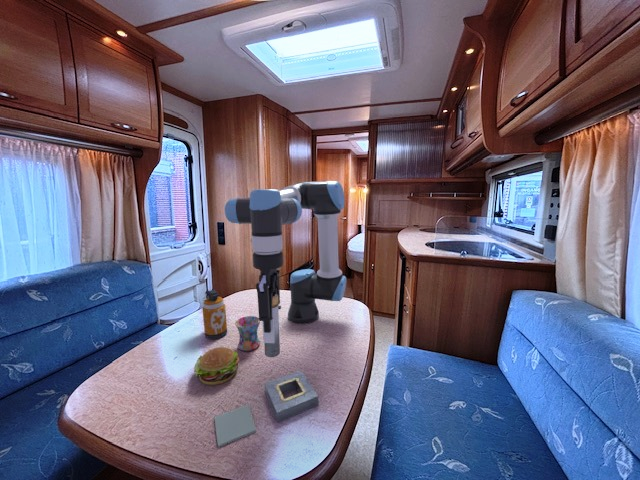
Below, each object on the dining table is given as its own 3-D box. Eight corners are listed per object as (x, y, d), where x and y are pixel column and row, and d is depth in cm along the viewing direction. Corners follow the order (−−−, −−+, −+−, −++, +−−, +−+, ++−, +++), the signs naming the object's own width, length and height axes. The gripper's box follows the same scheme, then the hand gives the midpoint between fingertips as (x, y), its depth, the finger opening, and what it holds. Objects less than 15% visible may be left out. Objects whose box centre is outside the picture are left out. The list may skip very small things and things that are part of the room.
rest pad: (248, 406, 72) (248, 404, 72) (256, 431, 64) (256, 429, 64) (214, 418, 68) (214, 417, 68) (218, 447, 60) (217, 445, 60)
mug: (251, 355, 96) (249, 329, 94) (231, 350, 99) (229, 324, 98) (269, 339, 107) (268, 315, 105) (251, 334, 110) (250, 311, 108)
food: (206, 360, 93) (204, 340, 92) (244, 360, 93) (243, 340, 91) (185, 388, 80) (182, 365, 78) (230, 389, 79) (228, 365, 78)
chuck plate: (301, 379, 83) (301, 370, 82) (318, 405, 72) (318, 395, 72) (265, 392, 77) (264, 382, 77) (277, 422, 67) (276, 412, 66)
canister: (209, 342, 105) (204, 296, 101) (200, 332, 113) (196, 289, 110) (230, 334, 110) (227, 290, 107) (221, 325, 119) (217, 284, 115)
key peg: (267, 348, 71) (264, 293, 69) (281, 348, 71) (279, 293, 69) (262, 357, 67) (259, 299, 65) (278, 357, 67) (276, 299, 64)
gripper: (263, 245, 73) (266, 322, 77) (240, 259, 57) (246, 356, 60) (289, 245, 73) (291, 322, 76) (273, 259, 56) (277, 357, 60)
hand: (271, 337), depth 68 cm, fingers closed on key peg, 4 cm apart
